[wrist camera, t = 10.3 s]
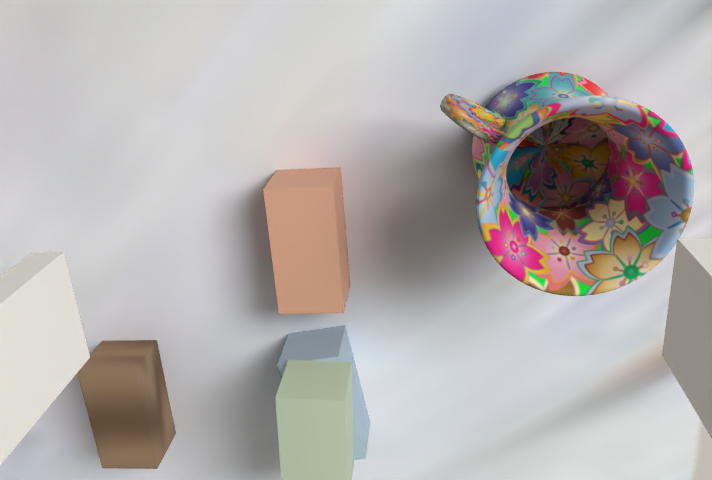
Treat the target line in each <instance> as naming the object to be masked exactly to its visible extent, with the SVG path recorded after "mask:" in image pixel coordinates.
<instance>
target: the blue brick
mask: <svg viewBox="0 0 712 480" xmlns="http://www.w3.org/2000/svg"><path fill="white" fill-rule="evenodd" d="M288 360H308V361H333V362H352V404H353V457H354V460H358V459H366V451H367V443H368V435H369V426H370V420H369V416H368V412H367V408H366V404H365V400H364V396H363V392H362V388H361V385H360V381H359V377H358V373H357V369H356V365H355V361H354V357H353V353H352V349H351V346H350V342H349V338H348V334H347V330H346V326H345V325H344V326H337V327H330V328H324V329H317V330H310V331H303V332H297V333H290V334H288V337H287V340H286V342H285V345H284V348H283V350H282V353H281V356H280V358H279V361H278V364H277V366H278V370H279V373H280V376H281V379H282V377H283V374H284V371H285V368H286V365H287V362H288Z"/></svg>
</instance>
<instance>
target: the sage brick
mask: <svg viewBox="0 0 712 480" xmlns="http://www.w3.org/2000/svg"><path fill="white" fill-rule="evenodd" d="M275 401H276V415H277V429H278V443H279V457H280V471H281V480H352V473H353V466H354V457H353V404H352V362H333V361H308V360H288V362H287V365H286V368H285V371H284V374H283V377H282V380H281V382H280V385H279V388H278V391H277V394H276V397H275Z"/></svg>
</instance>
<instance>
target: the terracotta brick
mask: <svg viewBox="0 0 712 480" xmlns="http://www.w3.org/2000/svg"><path fill="white" fill-rule="evenodd" d="M263 193H264V200H265V208H266V216H267V224H268V232H269V240H270V248H271V256H272V264H273V272H274V280H275V288H276V295H277V303H278V311H279V314H315V313H344V310H345V305H346V301H347V297H348V292H349V288H350V277H349V264H348V252H347V239H346V227H345V214H344V201H343V189H342V176H341V168H316V169H291V170H276V172H275V173H274V175H273V176H272V177H271V179H270V180H269V182H268V183H267V184H266V186H265V187H264V189H263Z"/></svg>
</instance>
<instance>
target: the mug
mask: <svg viewBox="0 0 712 480" xmlns="http://www.w3.org/2000/svg"><path fill="white" fill-rule="evenodd" d="M440 107H441V110H442V111H443V112H444V113H445V114H446V115H447V116H448V117H449V118H450V119H451V120H453V121H454V122H455V123H456V124H458V125H459V126H461V127H462V128H463V129H465V130H466V131H468V132H469V133H471V134H473V135H474V136H473V141H472V159H473V165H474V169H475V172H476V175H477V177H478V179H479V183H478V189H477V196H476V213H477V220H478V225H479V229H480V232H481V235H482V238H483V240H484V242H485V244H486V246H487V248H488V250H489V251H490V253H491V255H492V256H493V257H494V259H495V260H496V261H497V262H498V263H499V264H500V266H501V267H502V268H503V269H504V270H506V271H507V272H508V273H509V274H510V275H512V276H513V277H515V278H516V279H517V280H519V281H521V282H523V283H524V284H526V285H528V286H531V287H533V288H535V289H538V290H541V291H544V292H548V293H552V294H558V295H566V296H585V295H594V294H599V293H604V292H607V291H611V290H614V289H617V288H620V287H622V286H625V285H627V284H629V283H631V282H633V281H635V280H636V279H638V278H640V277H641V276H643V275H644V274H646V273H647V272H649V271H650V270H651V269H653V268H654V267H655V266H656V265H657V264H658V263H659V262H660V261H661V260H662V259H663V258H664V257H665V256H666V255H667V254H668V253H669V252H670V251H671V249H672V248H673V247H674V245H675V244H676V242H677V238H680V236H681V234H682V232H683V230H684V228H685V226H686V224H687V221H688V218H689V215H690V212H691V208H692V203H693V195H694V179H693V171H692V166H691V162H690V159H689V156H688V153H687V151H686V149H685V147H684V145H683V143H682V142H681V140H680V138H679V137H678V135H677V134H676V133H675V132H674V130H673V129H672V128H671V127H670V126H669V125H668V124H667V123H666V122H665V121H664V120H663V119H661V118H660V117H659V116H657V115H656V114H655V113H653V112H652V111H650V110H648V109H647V108H645V107H643V106H641V105H638V104H636V103H634V102H631V101H628V100H625V99H620V98H616V97H609V96H608V95H607V94H606V93H605V92H604V91H603V90H602V89H601V88H600V87H598V86H597V85H596V84H594V83H593V82H591V81H589V80H587V79H585V78H583V77H580V76H577V75H574V74H569V73H562V72H546V73H539V74H535V75H531V76H528V77H525V78H522V79H520V80H518V81H516V82H514V83H513V84H511V85H509V86H508V87H506V88H505V89H504V90H502V91H501V92H500V93H499V94H498V95H496V96H495V97H494V99H493V100H492V101H491V102H490V103H489V104H488V106H487V107H486V108H484V107H482V106H480V105H478V104H476V103H474V102H472V101H470V100H467V99H465V98H463V97H460V96H457V95H454V94H448V95H447V96H445V98H444V99H443V100H442V102H441V105H440Z"/></svg>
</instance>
